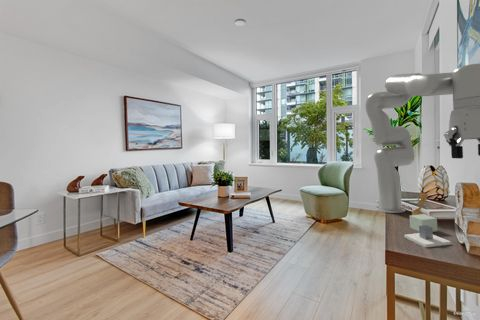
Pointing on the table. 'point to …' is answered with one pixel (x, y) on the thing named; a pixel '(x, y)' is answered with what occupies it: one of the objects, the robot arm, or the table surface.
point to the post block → (427, 237)
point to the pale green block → (423, 221)
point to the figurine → (422, 201)
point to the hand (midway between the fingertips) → (470, 157)
